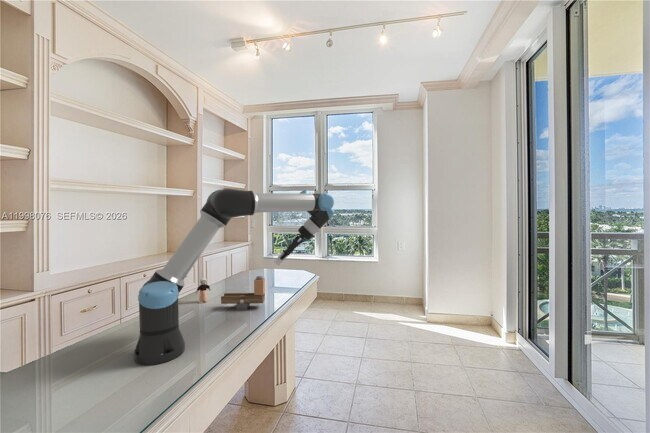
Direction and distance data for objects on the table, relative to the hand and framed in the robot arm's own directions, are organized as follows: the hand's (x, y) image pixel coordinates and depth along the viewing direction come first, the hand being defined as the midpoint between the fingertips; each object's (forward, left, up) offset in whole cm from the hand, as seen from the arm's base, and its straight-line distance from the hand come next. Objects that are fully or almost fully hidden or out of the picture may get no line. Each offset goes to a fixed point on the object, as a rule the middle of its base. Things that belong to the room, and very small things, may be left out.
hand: (277, 261), depth 149 cm
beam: (0, +17, -23) cm, 29 cm away
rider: (0, +9, -18) cm, 20 cm away
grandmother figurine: (+10, +40, -23) cm, 47 cm away
